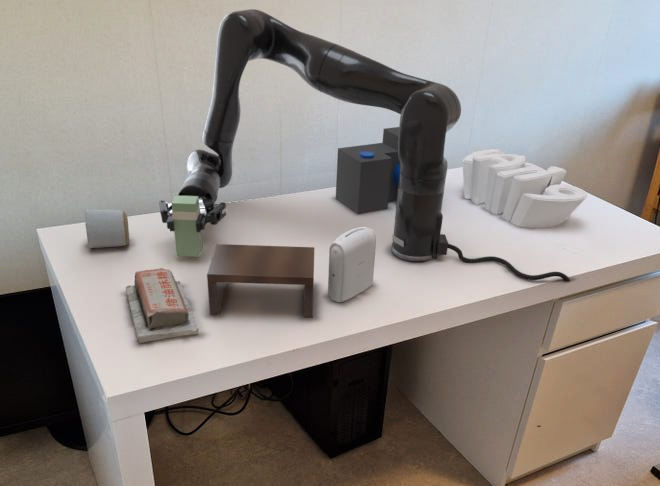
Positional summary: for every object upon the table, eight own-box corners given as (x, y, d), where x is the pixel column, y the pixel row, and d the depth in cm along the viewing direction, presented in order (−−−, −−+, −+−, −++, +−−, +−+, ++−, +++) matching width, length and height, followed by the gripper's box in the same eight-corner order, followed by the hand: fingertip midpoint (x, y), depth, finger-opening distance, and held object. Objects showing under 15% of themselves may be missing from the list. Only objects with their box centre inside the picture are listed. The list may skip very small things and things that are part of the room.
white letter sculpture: (444, 186, 174) (450, 146, 168) (494, 179, 181) (501, 140, 175) (533, 238, 149) (544, 193, 143) (587, 227, 156) (599, 184, 150)
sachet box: (202, 247, 135) (198, 196, 129) (199, 256, 132) (195, 204, 125) (180, 247, 135) (175, 195, 129) (176, 255, 132) (171, 203, 125)
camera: (369, 222, 153) (374, 154, 144) (335, 198, 164) (338, 133, 155) (455, 206, 163) (465, 141, 154) (418, 185, 175) (425, 123, 166)
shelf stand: (313, 285, 127) (314, 247, 122) (312, 317, 117) (313, 277, 112) (218, 282, 126) (216, 243, 122) (210, 315, 116) (206, 274, 112)
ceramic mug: (131, 251, 135) (126, 215, 131) (89, 254, 133) (82, 218, 129) (129, 230, 144) (124, 196, 140) (90, 233, 142) (83, 199, 138)
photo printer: (341, 305, 121) (345, 243, 114) (324, 297, 123) (326, 235, 116) (375, 286, 128) (381, 226, 121) (358, 278, 130) (362, 219, 123)
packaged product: (122, 269, 118) (178, 262, 122) (125, 293, 121) (180, 286, 124) (134, 319, 105) (197, 310, 108) (138, 345, 108) (199, 335, 111)
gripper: (163, 176, 139) (144, 207, 125) (231, 178, 139) (221, 210, 125) (166, 210, 143) (149, 244, 129) (233, 212, 144) (223, 246, 130)
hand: (184, 227), depth 127 cm, fingers closed on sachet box, 4 cm apart
